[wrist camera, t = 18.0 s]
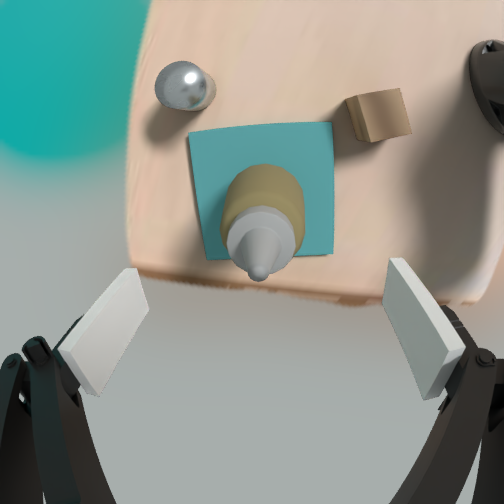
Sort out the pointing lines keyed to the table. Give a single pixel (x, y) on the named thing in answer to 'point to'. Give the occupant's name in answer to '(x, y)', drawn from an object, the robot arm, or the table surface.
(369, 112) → the walnut block
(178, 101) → the grey metal tin
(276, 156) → the teal mat
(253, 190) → the squeeze bottle
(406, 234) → the table surface
